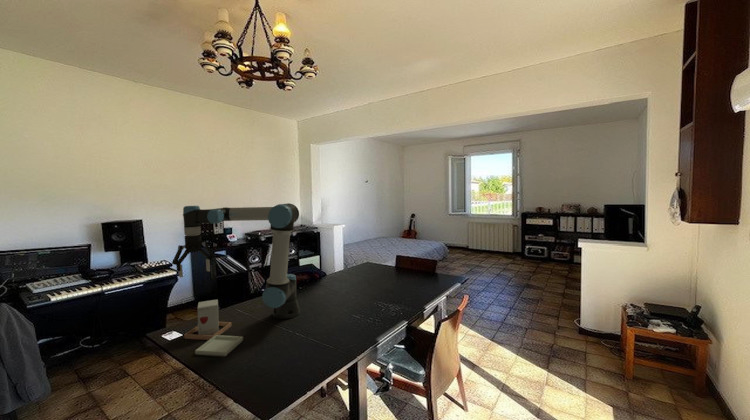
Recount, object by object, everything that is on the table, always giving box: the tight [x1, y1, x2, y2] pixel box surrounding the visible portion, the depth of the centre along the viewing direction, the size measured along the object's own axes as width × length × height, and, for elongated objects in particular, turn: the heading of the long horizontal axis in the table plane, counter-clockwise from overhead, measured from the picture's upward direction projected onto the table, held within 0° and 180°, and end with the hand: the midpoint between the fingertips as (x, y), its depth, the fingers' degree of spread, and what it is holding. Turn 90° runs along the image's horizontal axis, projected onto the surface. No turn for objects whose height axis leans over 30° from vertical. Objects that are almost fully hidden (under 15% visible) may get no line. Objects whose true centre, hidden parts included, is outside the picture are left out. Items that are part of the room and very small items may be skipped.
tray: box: [194, 334, 244, 357], centre depth 137 cm, size 14×14×2 cm
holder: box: [183, 321, 232, 341], centre depth 152 cm, size 15×15×2 cm
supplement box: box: [197, 299, 220, 336], centre depth 151 cm, size 9×9×15 cm
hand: (195, 273), depth 161 cm, fingers open, 13 cm apart
